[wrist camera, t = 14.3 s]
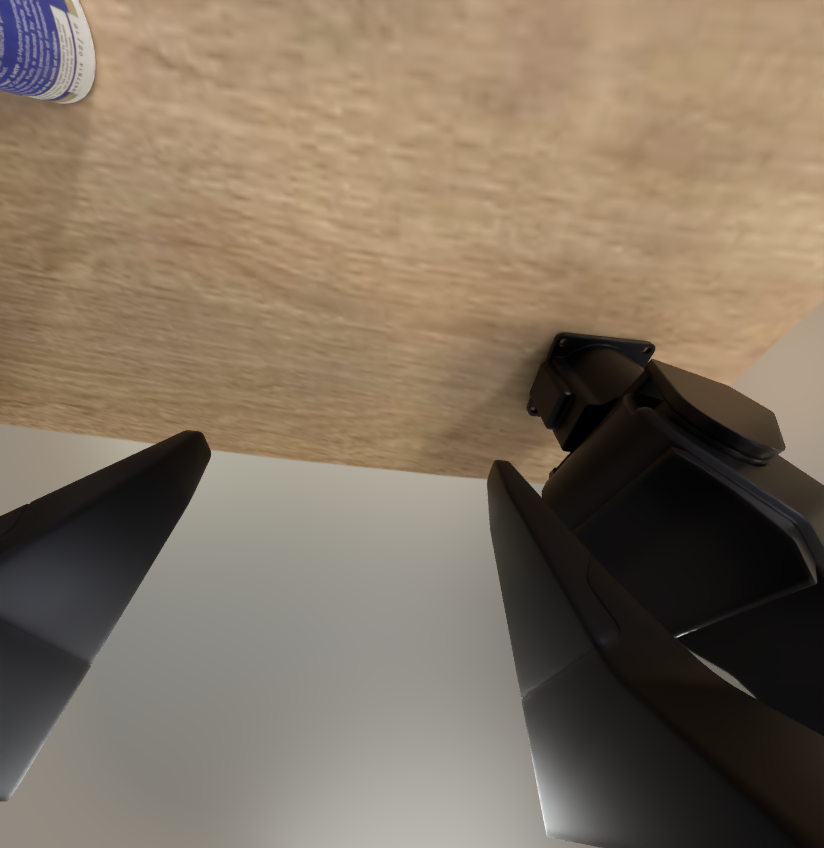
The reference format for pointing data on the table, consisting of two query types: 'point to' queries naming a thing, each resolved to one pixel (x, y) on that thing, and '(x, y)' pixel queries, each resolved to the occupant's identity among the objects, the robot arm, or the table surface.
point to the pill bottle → (46, 50)
